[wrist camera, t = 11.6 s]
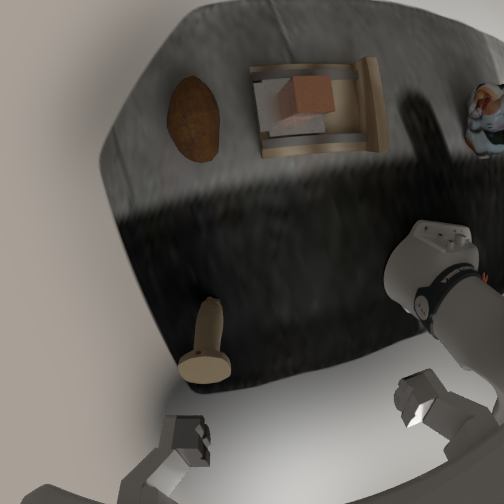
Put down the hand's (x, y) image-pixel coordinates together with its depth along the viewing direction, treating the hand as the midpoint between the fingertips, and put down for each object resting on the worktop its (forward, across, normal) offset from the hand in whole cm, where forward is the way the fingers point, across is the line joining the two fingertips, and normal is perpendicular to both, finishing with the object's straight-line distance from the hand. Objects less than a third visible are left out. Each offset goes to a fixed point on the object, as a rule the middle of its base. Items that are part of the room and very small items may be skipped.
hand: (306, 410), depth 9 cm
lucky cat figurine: (+32, -44, -15) cm, 56 cm away
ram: (+30, -6, -14) cm, 34 cm away
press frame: (+32, -10, -14) cm, 36 cm away
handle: (+32, +8, +14) cm, 36 cm away
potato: (+32, +6, -14) cm, 35 cm away
